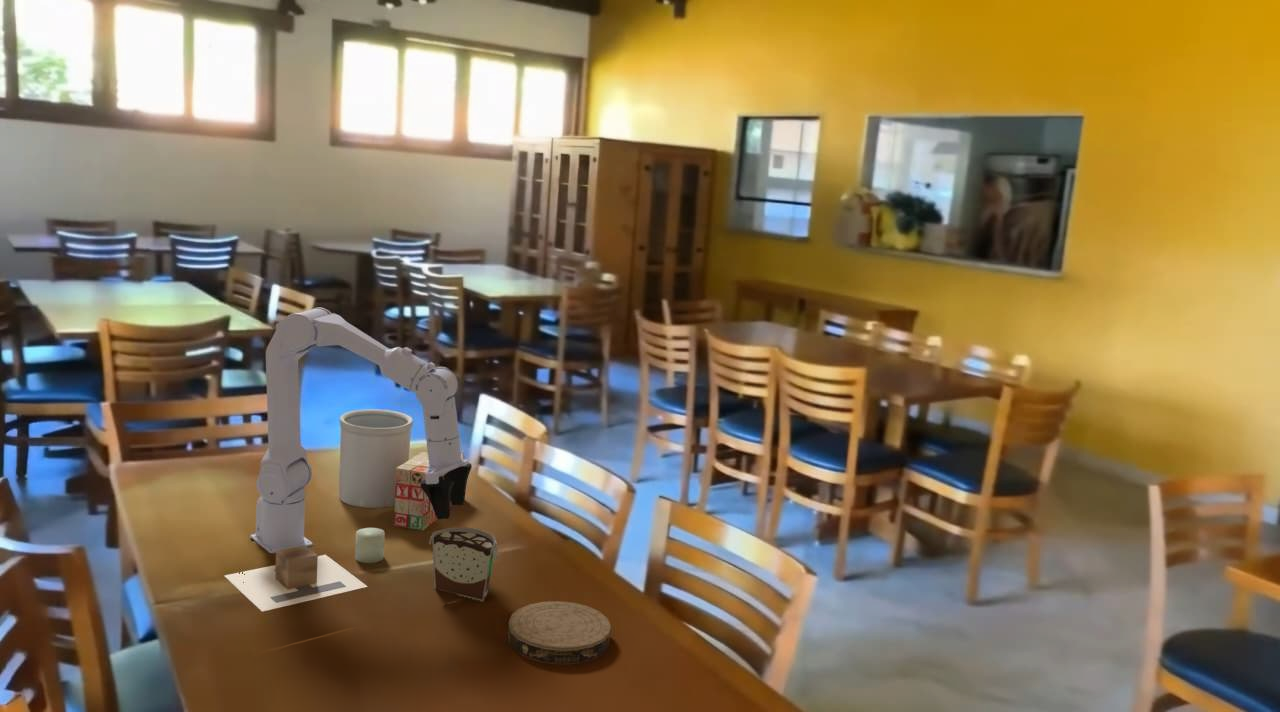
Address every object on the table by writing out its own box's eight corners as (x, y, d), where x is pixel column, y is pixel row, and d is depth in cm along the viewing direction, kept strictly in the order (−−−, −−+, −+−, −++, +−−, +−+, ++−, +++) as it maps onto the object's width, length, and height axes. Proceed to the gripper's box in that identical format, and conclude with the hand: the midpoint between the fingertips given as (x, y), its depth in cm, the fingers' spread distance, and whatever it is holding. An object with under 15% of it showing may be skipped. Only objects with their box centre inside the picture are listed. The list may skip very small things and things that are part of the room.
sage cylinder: (350, 556, 180) (351, 530, 179) (375, 551, 183) (376, 525, 182) (363, 566, 176) (364, 539, 175) (388, 560, 179) (389, 534, 179)
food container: (507, 590, 172) (511, 535, 170) (491, 603, 166) (494, 547, 164) (445, 575, 175) (448, 521, 174) (426, 587, 170) (429, 532, 168)
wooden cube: (275, 578, 167) (275, 550, 166) (303, 572, 171) (304, 545, 170) (287, 589, 164) (288, 560, 163) (316, 583, 167) (317, 555, 166)
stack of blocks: (436, 494, 217) (439, 440, 215) (463, 498, 216) (466, 444, 213) (393, 526, 196) (395, 466, 194) (422, 531, 195) (425, 471, 193)
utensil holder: (423, 498, 214) (427, 419, 210) (370, 514, 201) (374, 431, 198) (375, 481, 221) (378, 405, 218) (321, 497, 209) (324, 416, 205)
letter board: (223, 576, 167) (224, 575, 167) (325, 555, 179) (325, 554, 179) (262, 612, 155) (262, 611, 155) (367, 587, 168) (367, 586, 168)
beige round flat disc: (547, 609, 166) (548, 592, 166) (628, 638, 159) (629, 620, 158) (486, 643, 153) (487, 625, 152) (572, 677, 145) (573, 658, 144)
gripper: (450, 447, 167) (458, 524, 169) (477, 426, 181) (484, 498, 183) (410, 448, 168) (419, 525, 170) (440, 428, 182) (448, 499, 185)
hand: (450, 511), depth 177 cm, fingers open, 7 cm apart
